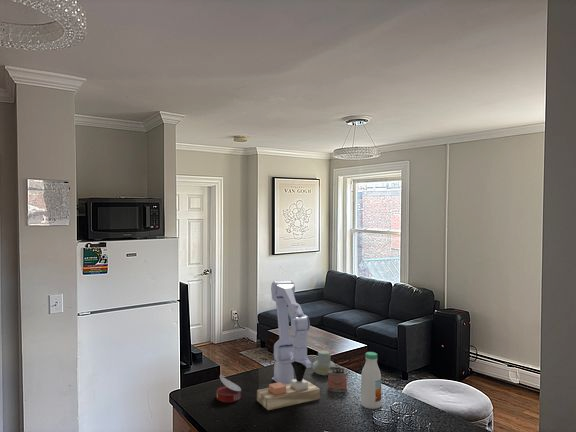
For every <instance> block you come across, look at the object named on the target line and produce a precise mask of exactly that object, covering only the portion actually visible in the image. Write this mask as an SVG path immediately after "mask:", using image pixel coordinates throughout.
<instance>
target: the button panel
mask: <svg viewBox="0 0 576 432" xmlns="http://www.w3.org/2000/svg"><path fill="white" fill-rule="evenodd" d="M305 380H306V381H307V382H308V389H304V390H300V391H296V390H295V389H293V388H292V387H291V384H286V385H285V386H286V393H285V394H280V395H276V396H274V395H273V394H271V393H270V392H269V387H266V388H261V389H257V390H256V401H257V402H258V403H259V404H260V405H262V406H263V408H264V409H266V410H267V411H271V410H276V409H277V410H278V409H280V408H284V407H289V406H294V405H299V404H301V403H308V402H311V401H312V402H313V401H316V400H320V399H321V397H320V396H321V393H320V392H321V388H319V387H318V386H316V385H315V384H313V383H311V382H310V381H308V380H307V379H305Z"/></svg>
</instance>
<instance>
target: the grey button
mask: <svg viewBox="0 0 576 432" xmlns="http://www.w3.org/2000/svg"><path fill="white" fill-rule="evenodd" d="M306 380H307V379H304V378H303V380H302V381H297V380H296V378H294V379H293V380H291V387H292V388H293V389H295V390H296V391H300V390H304V389H308V382H309V381H308V380H307V381H308V382H307V381H306Z"/></svg>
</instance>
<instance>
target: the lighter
mask: <svg viewBox="0 0 576 432" xmlns="http://www.w3.org/2000/svg"><path fill="white" fill-rule="evenodd" d="M335 366H336V365H335ZM335 366H330V370H333V371H328V375H327V377H328V378H327V391H328V390H329V392H335V393H337V392H339V393H345V392H347V391H348V389H347V380H348V379H347V377H348V372H347V371H345V367H344V366H341V365H337V366H336V367H335ZM334 370H335V371H334Z"/></svg>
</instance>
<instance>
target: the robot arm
mask: <svg viewBox="0 0 576 432" xmlns="http://www.w3.org/2000/svg"><path fill="white" fill-rule="evenodd" d="M295 285H296V284H295V282H294V281H293V280H282V281H281V280H280V281H278V280H277V281H276V280H273V281H272V283H271V285H270V291H271V298H272V299H271V300H272V301H273V302H275V306H276V315H277V327H278V328H277V329H278V336H279V338H278V340H277V341H276V342H275V343H274V345H273V358H274V360H275V362H274V364H273V377H271V380H273V381H275V383H278V382H281V383H282V384H284V385H286V384H291V380H293V379H296V380H297V381H302V380H303V379H304V376H305V372H306V370H307V369H308V368H309V369H310V368H312V361H311V360H310V359H309V358H308V331H309V330H310V328H311V322H310V319H309V316H308V315H306V314H304V311H303V308H302V306H301V304H299V303H297V301H296V297H295V291H296V286H295ZM289 318H290V320H291V321H290V322H289ZM290 326H291V327H290ZM290 328H291V331H290ZM290 332H291V333H290ZM291 334H292V338H291ZM294 376H295V378H294Z"/></svg>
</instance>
